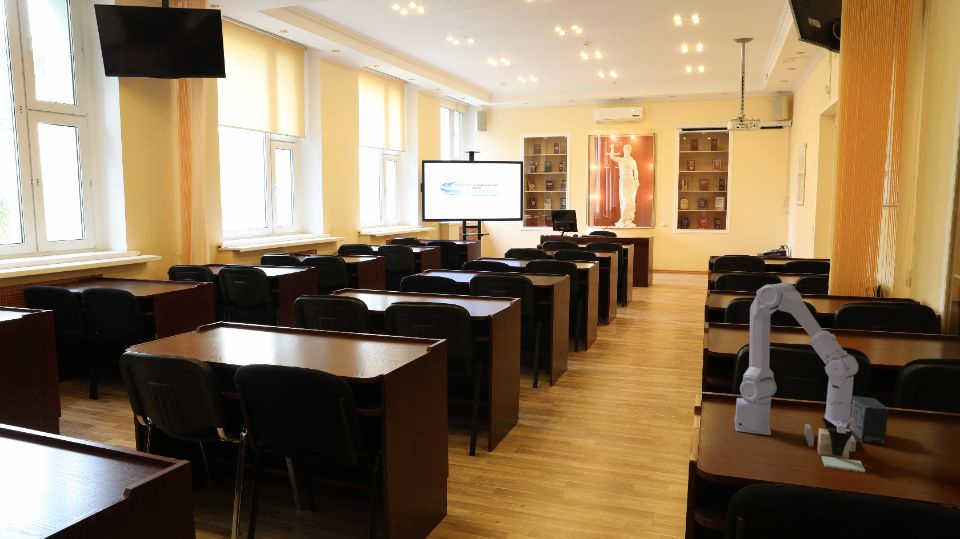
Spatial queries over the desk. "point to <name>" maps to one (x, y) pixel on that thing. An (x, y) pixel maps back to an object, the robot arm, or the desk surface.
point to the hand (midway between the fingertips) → (834, 450)
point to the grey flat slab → (810, 438)
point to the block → (829, 445)
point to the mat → (843, 464)
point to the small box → (869, 420)
